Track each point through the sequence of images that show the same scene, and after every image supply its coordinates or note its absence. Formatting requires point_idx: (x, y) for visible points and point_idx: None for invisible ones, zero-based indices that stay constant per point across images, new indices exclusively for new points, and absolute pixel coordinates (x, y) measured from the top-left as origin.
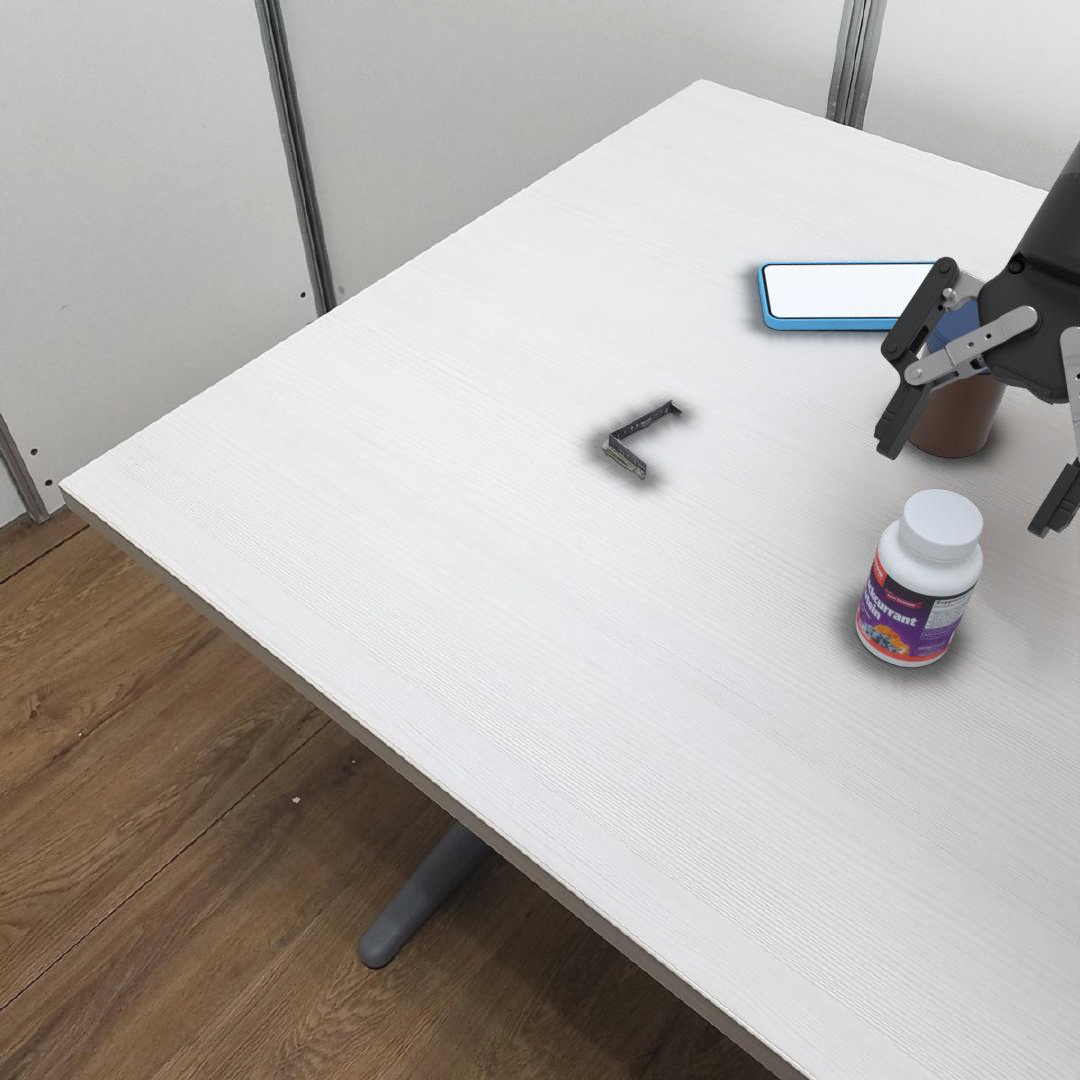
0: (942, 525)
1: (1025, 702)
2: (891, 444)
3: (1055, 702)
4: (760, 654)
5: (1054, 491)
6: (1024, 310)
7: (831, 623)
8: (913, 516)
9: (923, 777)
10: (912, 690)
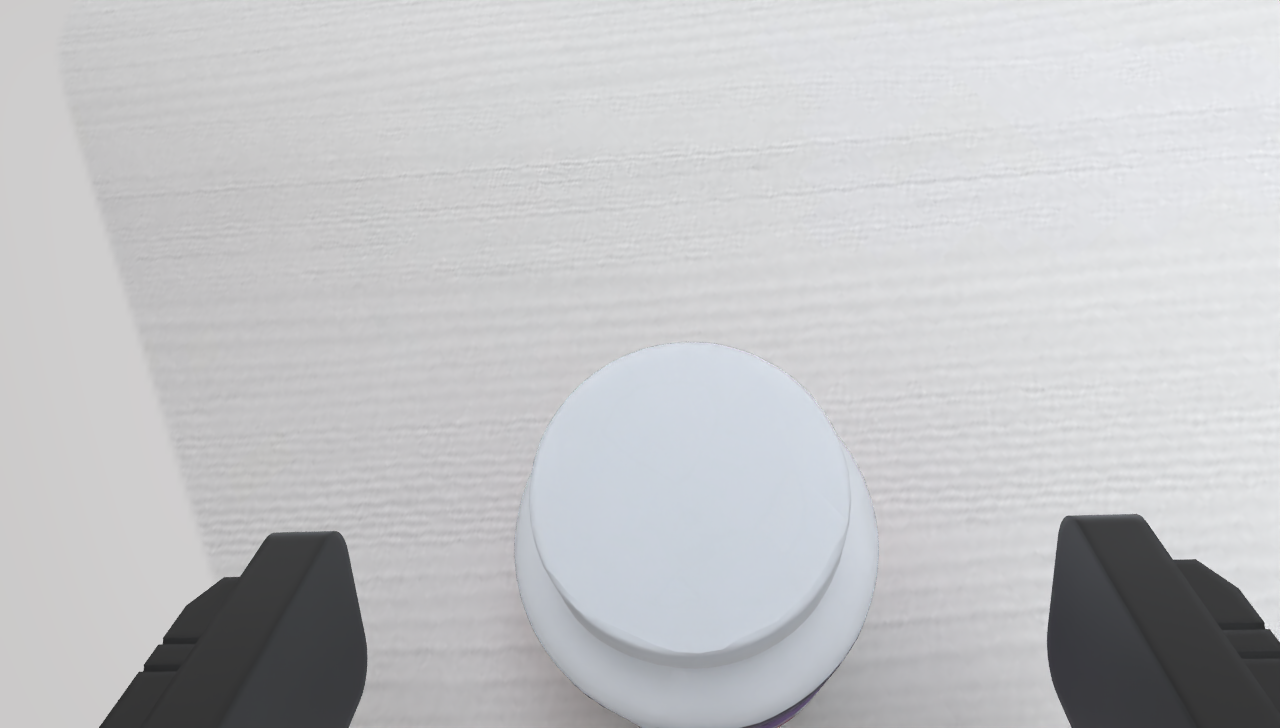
0: (664, 442)
1: None
2: (1085, 527)
3: None
4: (928, 304)
5: (248, 643)
6: None
7: None
8: (776, 404)
9: (455, 284)
10: None
